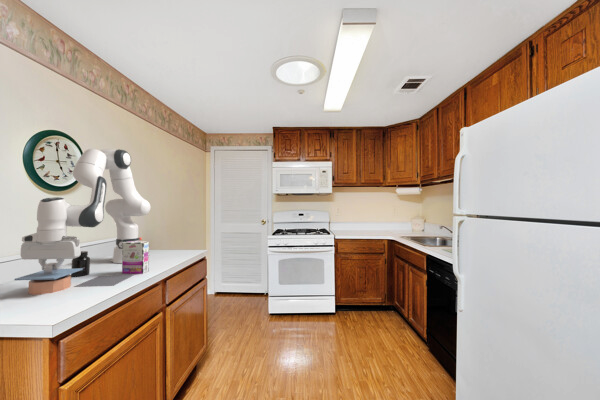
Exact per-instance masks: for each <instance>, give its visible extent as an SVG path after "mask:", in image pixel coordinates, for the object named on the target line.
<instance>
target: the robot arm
mask: <svg viewBox="0 0 600 400" xmlns="http://www.w3.org/2000/svg"><path fill="white" fill-rule="evenodd" d="M131 163H132V156H131V155H130V153H129V152H128V151H126V150H125V149H119V148H118V149H112V148H105V149H96V148H88V149H86V150H84V152H83V153H82V154H81V156H79V158H78V160H77V162H76V164H75V166H74V168H73V170H72V176H73V178H74V179H75V180H76V181H77V182H78V183H79V184H81V185H82V186H84V187H86V188H87V187H88V188H90V189H91V194H90V198H89V199H90V201H89V203H87V204H86V205H85V204H84V205H79V204H78V205H75V204H70V203H68V202H67V201H66V198H64V197H58V196H57V197H55V196H54V197H46V198H42V199H41V200H39V203H38V204H37V205H38V206H37V211H36V221H37V227H36V233H31V234H27V235H24V236H22V237H21V241H22V243H21V246H20V257H21V259H22V260H38V263H39V264H40V266H41V271H43V270H44V264H48V263H47V260H56V263H57V264H56V265H54V270H59V269H62V264H63V263H64V261H65V260H70V259H71V260H72V259H74V258H77V257H79V256H80V255H81V244H80V238H79V237H77V236H76V235H75V236H73V235H70V236H67V235H68V233H67V231H68V230H67V229H68V227H71V228H72V227H77V228H78V227H79V228H81V227H83V228H96V227H97V226H99V225H100V224H101V223H103V221H104V218H105V212H106V213H107V215H109V216H110V217H112V219H113V221H114V223H115V225H116V226H115V227H116V239H115V245H116V246H115V247H114V249H113V255H112V259H110V262H112V263H114V264H122V251H123V242H128V241H142V239H143V237H139V225H138V223H136V222H134V221H133V219H132V218H131V217H143V216H146V215H148V214H149V213H150V212H151V209H152V208H151V203H150V202H149V201H148V200H147V199H146V198H144V197H143V196H142V195H141V194H140V193H139V192H138V190H137V188H136V185H135V181H134V177H133V172H132V170H131ZM105 170H108V171H109V177H110V182H111V187H112V190H113V192H114V194H116V195H119V196H120V197H121V198H115V199H110V200H108V201H107V202H106V201H105V200H106V195H107V187H108V186H107V183H108V182H107V181H106V180H107V179H105V178H104V177H103V175H104V172H105ZM105 202H106V204H105ZM104 210H105V211H104ZM149 257H150V254H149Z"/></svg>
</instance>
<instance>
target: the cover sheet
mask: <svg viewBox="0 0 600 400" xmlns="http://www.w3.org/2000/svg"><path fill="white" fill-rule="evenodd" d="M56 264H57V262H49V263H47V264H44V270H39V271H36V272H33V273H30V274H27V275H23V276H19V277H17V278H14V281H30V280H52V279H57V278H60V277H63V276H66V275H69V274H70V275H71V274H72V273H75V272H77V271H80V270H83V268H75V269H71V268H61V269H59V270H54V265H56Z"/></svg>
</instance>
